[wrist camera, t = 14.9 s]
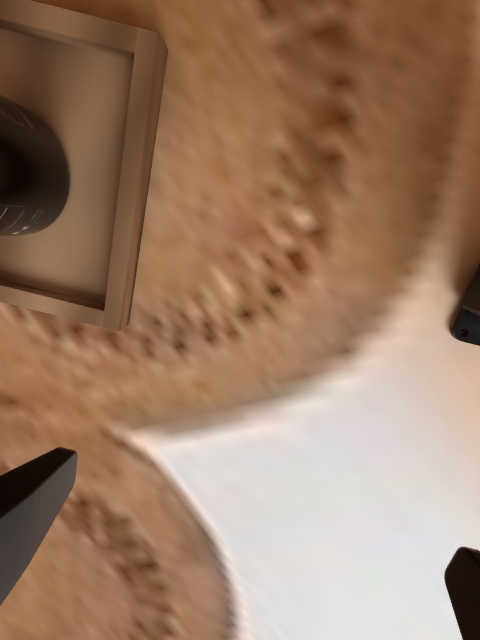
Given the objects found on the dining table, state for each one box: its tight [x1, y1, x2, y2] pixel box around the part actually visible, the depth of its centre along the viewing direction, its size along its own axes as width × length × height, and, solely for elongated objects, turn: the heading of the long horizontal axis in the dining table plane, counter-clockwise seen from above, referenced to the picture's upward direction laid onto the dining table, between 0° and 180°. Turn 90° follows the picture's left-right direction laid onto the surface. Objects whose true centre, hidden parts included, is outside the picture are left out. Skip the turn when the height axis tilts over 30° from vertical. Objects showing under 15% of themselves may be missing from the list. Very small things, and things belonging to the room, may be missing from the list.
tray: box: [0, 0, 168, 331], centre depth 17 cm, size 15×15×2 cm
